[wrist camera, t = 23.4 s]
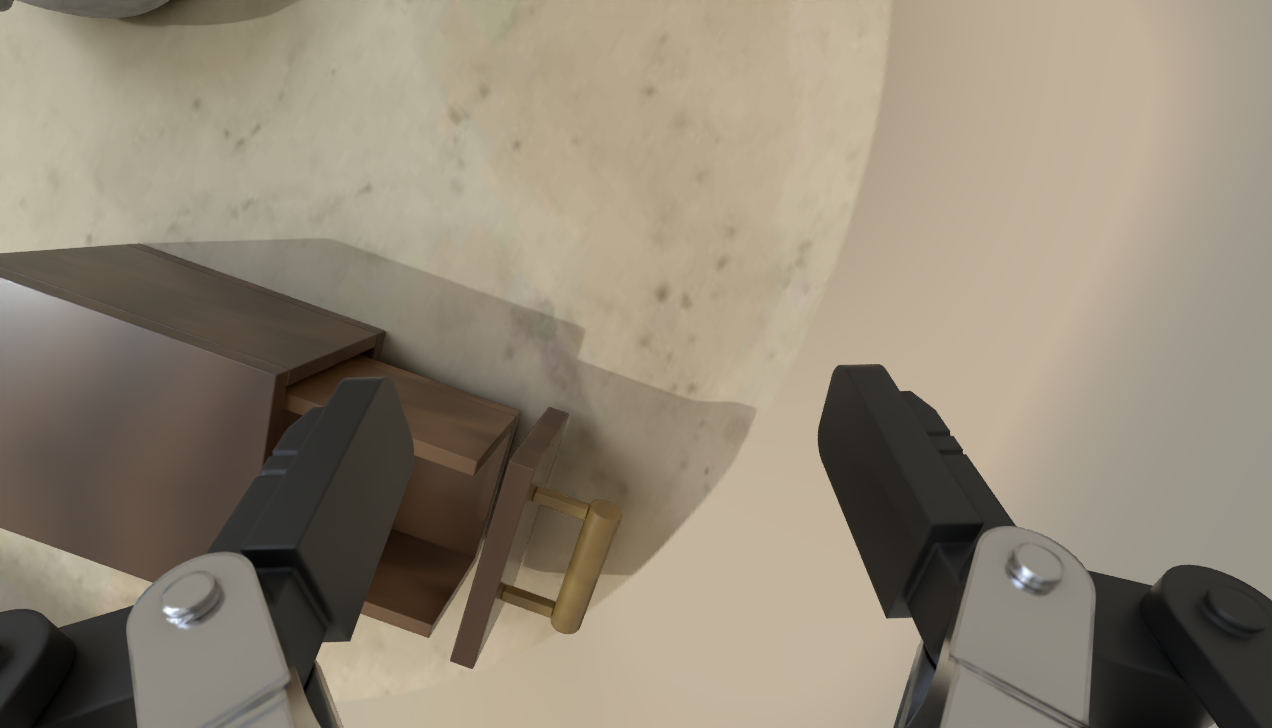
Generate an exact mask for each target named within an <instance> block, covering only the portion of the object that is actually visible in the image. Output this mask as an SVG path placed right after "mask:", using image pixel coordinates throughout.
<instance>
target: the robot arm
mask: <svg viewBox="0 0 1272 728" xmlns="http://www.w3.org/2000/svg"><path fill="white" fill-rule="evenodd" d="M818 447H819V453H820V457H821V460H822V463H823V465H824V468H825V470H826V472H827V475H828V477H829V480H830V482H831V485H832V487H833V490H834V492H835V494H836V497H837V499H838V502H839V504H840V507H841V509H842V511H843V514H844V516H845V519H846V521H847V524H848V526H849V529H850V531H851V533H852V536H853V538H854V541H855V543H856V546H857V548H858V550H859V553H860V555H861V558H862V560H863V563H864V565H865V568H866V570H867V572H868V575H869V577H870V580H871V582H872V585H873V587H874V589H875V592H876V594H877V597H878V599H879V601H880V604H881V606H882V609H883V611H884V614H885V616H886V618H909V617H910V618H911V617H912V618H913V620H914V622H915V624H916V627H917V629H918V631H919V633H920V636H921V638H922V639H921V641H920V643H919V645H918V649H917V652H916V655H915V658H914V662H913V665H912V668H911V672H910V675H909V678H908V681H907V684H906V688H905V691H904V695H903V698H902V701H901V704H900V708H899V711H898V714H897V717H896V721H895V724H894V727H893V728H1208V727H1210V726H1211V725H1213V724H1214V723H1216V724H1217V726H1218V727H1219V728H1272V601H1271V600H1270V599H1269V598H1268V597H1266V596H1265V595H1263V594H1262V593H1261V592H1259V591H1258V590H1256V589H1255V588H1253V587H1251V586H1250V585H1248V584H1246V583H1245V582H1243V581H1241V580H1239V579H1237V578H1235V577H1233V576H1230V575H1228V574H1226V573H1223V572H1220V571H1217V570H1214V569H1211V568H1207V567H1202V566H1195V565H1180V566H1176V567H1173V568H1171V569H1169V570H1168V571H1167V572H1166V573H1165V574H1164V575H1163V576H1162V577H1161V578H1160V579H1159V580H1158V581H1157V582H1156V583H1155V584H1154V586H1151V585H1147V584H1142V583H1138V582H1134V581H1130V580H1126V579H1121V578H1117V577H1113V576H1109V575H1105V574H1100V573H1096V572H1092V571H1088V570H1086V568H1085V567H1084V566H1083V564H1082V563H1081V562H1080V561H1079V560H1078V559H1077V558H1076V557H1075V556H1074V555H1073V554H1072V553H1071V552H1070V551H1068V550H1067V549H1066V548H1064V547H1063V546H1062V545H1060V544H1059V543H1057V542H1056V541H1054V540H1052V539H1050V538H1048V537H1046V536H1044V535H1042V534H1040V533H1038V532H1035V531H1032V530H1029V529H1025V528H1021V527H1017V526H1016V525H1015V524H1014V523H1013V521H1012V520H1011V518H1010V517H1009V515H1008V514H1007V513H1006V511H1005V510H1004V508H1003V507H1002V505H1001V504H1000V502H999V501H998V500H997V498H996V497H995V495H994V494H993V492H992V491H991V489H990V488H989V487H988V485H987V484H986V482H985V481H984V479H983V478H982V476H981V475H980V474H979V472H978V471H977V469H976V468H975V467H974V465H973V464H972V462H971V461H970V459H969V458H968V456H967V455H966V454H965V455H964V454H963V449H962V448H961V446H960V445H959V443H958V442H957V441H956V439H955V438H954V436H950V430H949V429H948V428H947V426H946V425H945V423H944V422H943V420H942V419H941V417H940V416H939V415H938V413H937V412H936V410H935V409H933V408H932V407H931V406H930V405H928V404H927V403H926V402H924V401H923V400H922V399H920V398H919V397H918V396H916V395H915V394H914V393H913V392H911V391H899V389H898V388H897V386H896V384H895V383H894V381H893V380H892V378H891V377H890V375H889V373H888V372H887V370H886V369H885V368H884V367H883V366H882V365H880V364H869V365H868V364H867V365H839V366H837V367H836V368H835V370H834V371H833V374H832V377H831V381H830V385H829V389H828V393H827V397H826V401H825V404H824V408H823V412H822V416H821V420H820V424H819V429H818ZM272 452H273V455H272V456H269V457H268V459H267V461H266V462H265V464H264V465H263V467H262V468H261V470H260V475H259V476H256V477H255V479H254V481H253V482H252V484H251V485H250V487H249V488H248V490H247V491H246V493H245V494H244V496H243V497H242V499H241V500H240V502H239V504H238V505H237V507H236V508H235V510H234V511H233V513H232V514H231V516H230V517H229V519H228V520H227V522H226V524H225V525H224V527H223V528H222V530H221V531H220V533H219V534H218V536H217V537H216V539H215V540H214V542H213V544H212V545H211V547H210V548H209V550H208V551H207V553H206V554H205V555H202V556H198V557H195V558H193V559H190V560H188V561H186V562H184V563H182V564H180V565H178V566H176V567H174V568H173V569H171V570H170V571H168V572H167V573H165V574H164V575H162V576H161V577H160V578H159V579H157V580H156V581H155V582H154V583H153V584H152V585H151V586H149V587H148V588H147V589H146V590H145V592H144V593H143V594H142V595H141V596H140V597H139V599H138V600H137V602H136V603H135V605H133V606H130V607H127V608H124V609H120V610H117V611H114V612H110V613H107V614H104V615H100V616H97V617H93V618H90V619H87V620H83V621H80V622H77V623H73V624H70V625H66V626H63V627H60V628H57V627H56V626H55V625H54V624H53V623H52V622H51V621H49V620H48V619H47V618H46V617H45V616H44V615H43V614H42V613H39V612H37V611H35V610H29V609H15V610H9V611H4V612H0V728H344V727H343V725H342V722H341V719H340V717H339V714H338V711H337V709H336V706H335V704H334V701H333V698H332V696H331V693H330V690H329V688H328V685H327V682H326V680H325V677H324V675H323V672H322V669H321V667H320V666H319V664H318V662H317V661H316V657H317V654H318V652H319V649H320V647H321V644H322V642H344V641H350V640H351V637H352V635H353V632H354V629H355V626H356V624H357V621H358V618H359V615H360V613H361V610H362V607H363V604H364V602H365V599H366V596H367V593H368V591H369V588H370V585H371V582H372V580H373V577H374V574H375V571H376V569H377V566H378V563H379V561H380V558H381V555H382V552H383V550H384V547H385V544H386V541H387V539H388V536H389V533H390V530H391V528H392V525H393V522H394V519H395V517H396V514H397V511H398V508H399V506H400V503H401V500H402V497H403V495H404V492H405V489H406V486H407V484H408V481H409V478H410V476H411V473H412V469H413V463H414V444H413V439H412V435H411V432H410V429H409V426H408V422H407V419H406V416H405V413H404V410H403V407H402V403H401V400H400V397H399V394H398V391H397V388H396V385H395V383H394V381H393V380H392V379H391V378H390V377H353V378H344V379H342V380H341V381H340V383H339V384H338V386H337V387H336V389H335V391H334V392H333V394H332V396H331V397H330V399H329V401H328V402H327V404H326V406H325V407H313V408H311V409H310V410H309V411H308V412H307V413H305V414H304V415H303V416H302V417H300V418H299V419H298V420H297V421H296V422H294V423H293V424H292V425H291V426H289V427H288V428H287V430H286V431H285V433H284V434H283V436H282V437H281V439H280V441H279V442H278V444H277V445H276V447H275V448H274V450H273V451H272Z"/></svg>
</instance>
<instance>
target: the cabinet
mask: <svg viewBox="0 0 1272 728" xmlns="http://www.w3.org/2000/svg"><path fill="white" fill-rule="evenodd" d="M384 333H385V331H384V330H381V329H378V328H375V327H373V326H370V325H367V324H364V323H361V322H359V321H356V320H353V319H350V318H347V317H344V316H342V315H339V314H336V313H333V312H330V311H327V310H325V309H322V308H319V307H316V306H313V305H311V304H308V303H305V302H302V301H299V300H296V299H294V298H291V297H288V296H285V295H282V294H279V293H277V292H274V291H271V290H268V289H265V288H263V287H260V286H257V285H254V284H251V283H248V282H246V281H243V280H240V279H237V278H234V277H231V276H229V275H226V274H223V273H220V272H217V271H215V270H212V269H209V268H206V267H203V266H200V265H198V264H195V263H192V262H189V261H186V260H184V259H181V258H178V257H175V256H172V255H169V254H167V253H164V252H161V251H158V250H155V249H152V248H150V247H147V246H144V245H141V244H127V245H111V246H97V247H83V248H69V249H56V250H42V251H28V252H14V253H0V528H2V529H5V530H8V531H11V532H14V533H16V534H19V535H22V536H25V537H27V538H30V539H33V540H36V541H39V542H41V543H44V544H47V545H50V546H52V547H55V548H58V549H61V550H64V551H66V552H69V553H72V554H75V555H77V556H80V557H83V558H86V559H89V560H91V561H94V562H97V563H100V564H103V565H105V566H108V567H111V568H114V569H116V570H119V571H122V572H125V573H128V574H130V575H133V576H136V577H139V578H141V579H144V580H147V581H150V582H153V583H154V582H155V581H156V580H157V579H159V578H160V577H161V576H162V575H164V574H165V573H167V572H168V571H170V570H171V569H173V568H174V567H176V566H178V565H180V564H182V563H184V562H186V561H188V560H190V559H193V558H195V557H198V556H202V555H205V554H206V553H207V551H208V550H209V548H210V547H211V545H212V544H213V542H214V540H215V539H216V537H217V536H218V534H219V533H220V531H221V530H222V528H223V527H224V525H225V524H226V522H227V520H228V519H229V517H230V516H231V514H232V513H233V511H234V510H235V508H236V507H237V505H238V504H239V502H240V500H241V499H242V497H243V496H244V494H245V493H246V491H247V490H248V488H249V487H250V485H251V484H252V482H253V481H254V479H255V477H256V476H259V475H260V470H261V468H262V467H263V465H264V464H265V462H266V461H267V459H268V457H269V456H272V455H273V452H272V451H273V450H274V448H275V447H276V445H277V442H278V436H279V430H280V423H281V417H282V411H283V405H284V398H285V392H286V386H288V385H290V384H293V383H295V382H297V381H299V380H302V379H304V378H306V377H308V376H311V375H313V374H315V373H317V372H320V371H322V370H324V369H326V368H329V367H331V366H333V365H335V364H338V363H340V362H342V361H344V360H347V359H349V358H351V357H353V356H356V355H358V354H360V355H363V356H366V357H368V358H371V359H374V360H377V361H379V357H380V352H381V348H382V343H383V338H384Z"/></svg>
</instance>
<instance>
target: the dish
mask: <svg viewBox="0 0 1272 728" xmlns="http://www.w3.org/2000/svg"><path fill="white" fill-rule="evenodd" d="M13 1H14V0H0V12H1V11H6V10H9V8H10V7H11V6H12V3H13ZM17 1H21V2H24V3H27V4H30V5H34V6H37V7H41V8H44V9H48V10H53V11H58V12H63V13H67V14H72V15H78V16H85V17H94V18H124V17H130V16H136V15H141V14H143V13H146V12H149V11H151V10H154V9H156V8H158V7H160V6H161V5H163V4H165V3H166V2H168V1H169V0H17Z"/></svg>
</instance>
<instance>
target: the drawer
mask: <svg viewBox="0 0 1272 728" xmlns="http://www.w3.org/2000/svg"><path fill="white" fill-rule="evenodd" d="M353 377H390V378H391V379H392V380H393V381H394V383H395V385H396V388H397V391H398V394H399V397H400V400H401V403H402V407H403V410H404V413H405V416H406V419H407V422H408V426H409V429H410V432H411V435H412V439H413V444H414V463H413V469H412V473H411V476H410V478H409V481H408V484H407V486H406V489H405V492H404V495H403V497H402V500H401V503H400V506H399V508H398V511H397V514H396V517H395V519H394V522H393V525H392V528H391V530H390V533H389V536H388V539H387V541H386V544H385V547H384V550H383V552H382V555H381V558H380V561H379V563H378V566H377V569H376V571H375V574H374V577H373V580H372V582H371V585H370V588H369V591H368V593H367V596H366V599H365V602H364V604H363V607H362V610H361V613H360V614H363V615H366V616H369V617H372V618H374V619H377V620H380V621H383V622H386V623H388V624H391V625H394V626H397V627H399V628H402V629H405V630H408V631H411V632H413V633H416V634H419V635H422V636H425V637H427V638H429V637H430V635H431V634H432V632H433V631H434V629H435V627H436V626H437V624H438V622H439V621H440V619H441V618H442V616H443V614H444V613H445V611H446V610H447V608H448V606H449V605H450V603H451V601H452V600H453V598H454V597H455V595H456V593H457V592H458V590H459V589H460V587H461V585H462V584H463V582H464V580H465V579H466V577H467V576H468V574H469V572H470V571H471V569H472V568H473V566H474V564H475V563H476V561H477V558H478V555H479V551H480V548H481V544H482V541H483V538H484V534H485V531H486V527H487V524H488V521H489V517H490V514H491V511H492V507H493V504H494V500H495V497H496V494H497V490H498V487H499V483H500V480H501V477H502V473H503V470H504V466H505V463H506V460H507V456H508V453H509V449H510V446H511V443H512V439H513V436H514V432H515V429H516V426H517V422H518V419H519V415H520V411H518V410H515V409H512V408H509V407H506V406H504V405H501V404H498V403H495V402H492V401H490V400H487V399H484V398H481V397H478V396H475V395H473V394H470V393H467V392H464V391H461V390H459V389H456V388H453V387H450V386H447V385H444V384H442V383H439V382H436V381H433V380H430V379H428V378H425V377H422V376H419V375H416V374H413V373H411V372H408V371H405V370H402V369H399V368H397V367H394V366H391V365H388V364H385V363H382V362H380V361H377V360H374V359H371V358H368V357H366V356H363V355H360V354H358V355H356V356H353V357H351V358H349V359H347V360H344V361H342V362H340V363H338V364H335V365H333V366H331V367H329V368H326V369H324V370H322V371H320V372H317V373H315V374H313V375H311V376H308V377H306V378H304V379H302V380H299V381H297V382H295V383H293V384H290V385H288V386H286V392H285V398H284V405H283V411H282V417H281V423H280V430H279V436H278V442H279V441H280V439H281V437H282V436H283V434H284V433H285V431H286V430H287V428H288V427H289V426H291V425H292V424H293V423H294V422H296V421H297V420H298V419H299V418H300V417H302V416H303V415H304V414H305V413H307V412H308V411H309V410H310V409H311V408H313V407H325V406H326V404H327V402H328V401H329V399H330V397H331V396H332V394H333V392H334V391H335V389H336V387H337V386H338V384H339V383H340V381H341V380H342V379H344V378H353ZM568 416H569V414H568V413H565V412H562V411H560V410H557V409H554V408H551V407H548V408H547V410H546V411H545V412H544V414H543V415H542V416H541V418H540V419H539V421H538V422H537V423H536V425H535V426H534V427H533V429H532V430H531V431H530V433H529V434H528V436H527V437H526V438H525V440H524V441H523V442H522V444H521V445H520V446H519V448H518V449H517V451H516V452H515V453H514V455H513V456H512V457H511V459H510V460H509V463H508V466H507V469H506V473H505V476H504V479H503V483H502V486H501V490H500V493H499V496H498V500H497V503H496V506H495V510H494V513H493V517H492V520H491V523H490V527H489V530H488V533H487V537H486V540H485V544H484V547H483V550H482V554H481V557H480V560H479V564H478V567H477V571H476V574H475V577H474V581H473V584H472V587H471V591H470V594H469V598H468V601H467V604H466V608H465V611H464V614H463V618H462V621H461V625H460V628H459V631H458V635H457V638H456V641H455V645H454V648H453V652H452V655H451V658H450V661H451V662H454V663H457V664H459V665H462V666H465V667H468V668H471V669H472V668H473V667H474V666H475V663H476V661H477V659H478V657H479V655H480V653H481V651H482V649H483V647H484V645H485V643H486V641H487V639H488V637H489V634H490V632H491V630H492V628H493V626H494V624H495V622H496V620H497V618H498V616H499V614H500V612H501V610H502V608H503V606H504V603H505V602H508V603H510V604H513V605H516V606H519V607H522V608H524V609H527V610H530V611H533V612H536V613H538V614H541V615H544V616H547V617H551V624H552V626H553V627H554V628H555V629H556V630H557V631H559V632H561V633H564V634H573V633H575V632H577V631H578V630H579V628H580V626H581V623H582V620H583V618H584V615H585V613H586V610H587V607H588V605H589V602H590V599H591V597H592V594H593V591H594V589H595V586H596V583H597V581H598V578H599V575H600V573H601V570H602V567H603V565H604V562H605V559H606V557H607V554H608V551H609V548H610V546H611V543H612V540H613V538H614V535H615V532H616V530H617V527H618V524H619V522H620V519H621V516H622V513H621V510H620V509H619V508H618V507H617V506H616V505H614V504H613V503H611V502H608V501H604V500H596V501H593V502H592V503H591V504H590V505H589V504H587V503H584V502H581V501H579V500H576V499H573V498H570V497H567V496H565V495H562V494H559V493H556V492H553V491H551V490H548V489H545V487H546V484H547V481H548V478H549V475H550V472H551V469H552V466H553V463H554V460H555V456H556V453H557V450H558V447H559V444H560V441H561V438H562V435H563V432H564V429H565V425H566V422H567V419H568ZM278 442H277V444H278ZM540 504H541V505H544V506H546V507H549V508H552V509H555V510H558V511H560V512H563V513H566V514H569V515H572V516H574V517H577V518H580V519H583V520H584V519H585V521H584V524H583V527H582V529H581V532H580V535H579V538H578V541H577V544H576V546H575V549H574V552H573V555H572V558H571V561H570V563H569V566H568V569H567V572H566V575H565V578H564V580H563V583H562V586H561V589H560V592H559V595H558V598H557V600H556V602H555V601H553V600H550V599H547V598H544V597H542V596H539V595H536V594H533V593H530V592H528V591H525V590H522V589H519V588H516V587H514V586H513V585H514V583H515V580H516V577H517V574H518V571H519V568H520V565H521V562H522V559H523V556H524V553H525V549H526V546H527V543H528V540H529V537H530V534H531V531H532V528H533V525H534V522H535V518H536V515H537V512H538V509H539V506H540Z"/></svg>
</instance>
